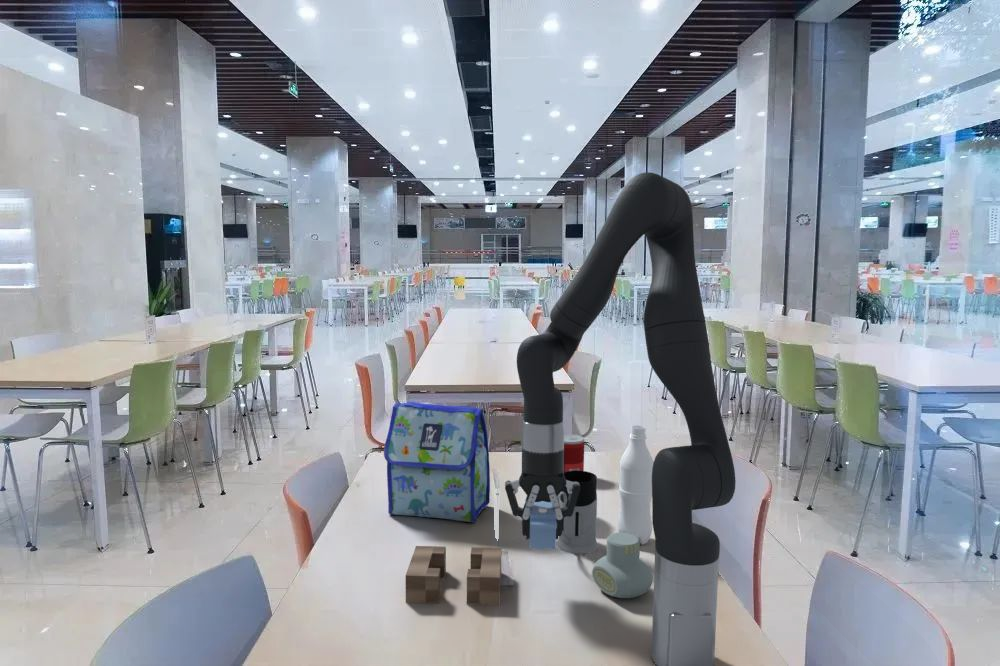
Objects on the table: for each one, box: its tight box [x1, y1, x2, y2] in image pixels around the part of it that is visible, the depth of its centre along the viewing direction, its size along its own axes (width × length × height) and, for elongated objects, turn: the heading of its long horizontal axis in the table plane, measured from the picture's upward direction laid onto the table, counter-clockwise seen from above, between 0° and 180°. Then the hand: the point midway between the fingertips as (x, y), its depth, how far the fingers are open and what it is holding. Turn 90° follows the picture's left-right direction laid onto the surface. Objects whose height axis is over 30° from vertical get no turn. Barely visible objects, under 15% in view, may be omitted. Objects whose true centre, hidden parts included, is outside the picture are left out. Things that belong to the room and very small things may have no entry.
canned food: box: [564, 434, 585, 472], centre depth 185 cm, size 8×8×11 cm
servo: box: [528, 501, 557, 550], centre depth 122 cm, size 4×12×7 cm, turn 179°
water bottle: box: [617, 424, 654, 545], centre depth 143 cm, size 7×7×25 cm
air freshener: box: [591, 532, 654, 599], centre depth 123 cm, size 11×8×10 cm
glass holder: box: [556, 470, 599, 555], centre depth 139 cm, size 9×14×15 cm, turn 146°
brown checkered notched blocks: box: [405, 545, 503, 606], centre depth 124 cm, size 12×16×5 cm
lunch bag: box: [383, 401, 491, 523], centre depth 159 cm, size 22×17×26 cm
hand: (542, 537), depth 122 cm, fingers closed on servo, 4 cm apart
